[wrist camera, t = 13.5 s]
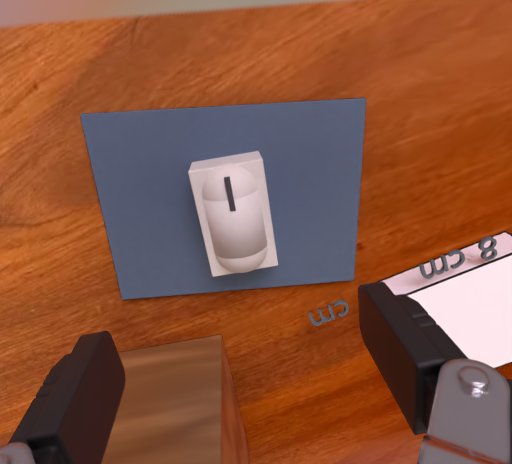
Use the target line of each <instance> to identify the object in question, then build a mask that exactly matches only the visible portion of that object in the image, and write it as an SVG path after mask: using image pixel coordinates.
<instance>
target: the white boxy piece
mask: <svg viewBox="0 0 512 464" xmlns="http://www.w3.org/2000/svg"><path fill="white" fill-rule="evenodd" d="M188 174H189V178H190V183H191V187H192V191H193V195H194V200H195V204H196V208H197V213H198V217H199V221H200V225H201V230H202V234H203V238H204V243H205V247H206V251H207V255H208V260H209V264H210V268H211V272H212V276H213V277H215V276H221V275H227V274H232V273H245V272H249V271H252V270H255V269H261V268H266V267H272V266H277V265H278V260H277V253H276V246H275V240H274V233H273V226H272V219H271V212H270V206H269V199H268V192H267V185H266V178H265V172H264V165H263V159H262V157H261V155H260V153H259V151H254V152H249V153H243V154H237V155H231V156H225V157H219V158H214V159H208V160H202V161H196V162H192V163H191V166H190V169H189V171H188Z"/></svg>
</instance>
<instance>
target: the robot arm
mask: <svg viewBox="0 0 512 464" xmlns="http://www.w3.org/2000/svg"><path fill="white" fill-rule="evenodd" d="M358 299H359V321H360V330H361V334H362V338H363V340H364V343H365V345H366V347H367V349H368V350H369V352H370V354H371V356H372V358H373V360H374V361H375V363H376V365H377V367H378V369H379V371H380V372H381V374H382V376H383V378H384V380H385V382H386V383H387V385H388V387H389V389H390V391H391V393H392V394H393V396H394V398H395V400H396V402H397V404H398V405H399V407H400V409H401V411H402V413H403V415H404V416H405V418H406V420H407V422H408V424H409V425H410V427H411V429H412V431H413V433H414V435H418V434H423V433H427V435H426V436H424V437H423V440H422V444H421V449H420V453H419V458H418V463H417V464H512V380H511V379H506V378H504V376H503V375H502V374H501V373H500V372H498V371H497V370H496V369H494V368H493V367H491V366H489V365H487V364H485V363H483V362H480V361H476V360H472V359H469V358H468V357H467V356H466V355H465V354H464V353H463V352H462V351H461V349H460V348H459V347H458V346H457V345H456V344H455V343H454V342H453V340H452V339H451V338H450V337H449V336H448V335H447V334H446V333H445V331H444V330H443V329H442V328H441V327H440V326H439V325H437V324H436V321H435V320H434V319H433V318H432V317H431V316H430V315H428V312H427V311H426V310H425V309H424V308H423V307H422V306H421V304H420V303H419V302H417V301H416V300H414V299H412V298H410V297H408V296H407V295H405V294H399V295H394V293H393V292H392V291H391V290H390V288H389V287H388V286H387V285H386V283H385V282H383V281H381V282H376V283H370V284H365V285H360V286H359V288H358ZM125 380H126V378H125V370H124V367H123V364H122V361H121V359H120V356H119V354H118V351H117V349H116V346H115V344H114V341H113V339H112V336H111V334H110V333H109V332H108V331H103V332H98V333H92V334H87V335H82V336H81V337H80V338H79V340H78V342H77V344H76V345H75V347H74V349H73V351H72V353H71V354H68V355H65V356H64V357H63V358H62V359H61V360H60V361H59V362H58V363H57V364H56V365H55V366H54V367H53V368H52V369H51V370H50V372H49V374H48V376H47V377H46V379H45V381H44V383H43V386H41V388H40V389H39V391H38V393H37V395H36V398H35V399H34V400H33V401H32V403H31V405H30V407H29V408H28V410H27V412H26V413H25V415H24V417H23V419H22V420H21V422H20V424H19V426H18V427H17V429H16V431H15V432H14V434H13V436H12V438H11V439H10V441H9V443H8V444H6V445H3V446H1V447H0V464H101V463H102V460H103V457H104V453H105V450H106V447H107V444H108V440H109V437H110V434H111V431H112V427H113V424H114V421H115V418H116V414H117V411H118V408H119V405H120V401H121V398H122V395H123V392H124V388H125Z"/></svg>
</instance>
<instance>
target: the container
mask: <svg viewBox="0 0 512 464" xmlns="http://www.w3.org/2000/svg"><path fill="white" fill-rule="evenodd" d="M381 281H383V282H385V283H386V285H387V286H388V287H389V288H390V290H391V291H392V292H393V293H394V295H399V294H405V295H407V296H408V297H410V298H412V299H414V300H416V301H417V302H419V303H420V304H421V306H422V307H423V308H424V309H425V310H426V311H427V312H428V315H430V316H431V317H432V318H433V319H434V320H435V321H436V324H437V325H439V326H440V327H441V328H442V329H443V330H444V331H445V333H446V334H447V335H448V336H449V337H450V338H451V339H452V340H453V342H454V343H455V344H456V345H457V346H458V347H459V348H460V349H461V351H462V352H463V353H464V354H465V355H466V356H467V357H468V358H469V359H472V360H476V361H480V362H483V363H485V364H487V365H489V366H491V367H493V368H494V369H496V368H499V367H501V366H504V365H507V364H510V363H512V234H510V233H508V232H506V231H505V232H502V233H500V234H497V235H495V236H492V237H485V238H483V239H482V240H481V241H479V242H477V243H474V244H472V245H469V246H467V247H464V248H462V249H459V250H453V251H450V252H449V253H447V255H444V254H443V255H441V257H439V258H437V259H434V260H433V259H431V260H430V261H429V262H426V263H424V264H422V263H420V264H419V266H416V267H414V268H411V269H409V270H406V271H404V272H401V273H399V274H396V275H394V276H391V277H389V278H386V279H384V280H381ZM381 281H378V282H381ZM333 304H334V306H335V307H336V306H337V305H340V304H342V305H344V306H345V309H344V311H342V312H340V313H338V317H341V316H344V315H346V314H347V313H348V311H349V307H348V305H347V303H346V302H345V301H343V300H339V301H336V302H334V303H333ZM327 307H328V309H329V312H330V316H329V317H328V318H325V317H324V316H323V314H322V312H321V309H320V308H319V309H317V310H318V312H319V315H320V317H321V319H320V320H319V321H315V320H314V319H313V317H312V314H311V312H309V313H308V315H309V317H310V320H311V322H312V324H313V325H315V326H319V325H321V324H322V322H323V321H324V322H329V321H330V320H331V319H332V318H333V319H336V318H335V316H334V314H333V311H332V309H331V306H330V304H329V305H327Z"/></svg>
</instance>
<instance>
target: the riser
mask: <svg viewBox="0 0 512 464" xmlns="http://www.w3.org/2000/svg"><path fill="white" fill-rule="evenodd" d="M118 354H119V356H120V359H121V361H122V364H123V367H124V370H125V378H126V380H125V388H124V392H123V395H122V398H121V401H120V405H119V408H118V411H117V414H116V418H115V421H114V424H113V427H112V431H111V434H110V437H109V440H108V444H107V447H106V450H105V453H104V457H103V460H102V463H101V464H249V455H248V442H247V438H246V434H245V430H244V426H243V421H242V417H241V413H240V409H239V405H238V400H237V396H236V392H235V388H234V384H233V380H232V375H231V371H230V367H229V363H228V359H227V354H226V350H225V346H224V342H223V338H222V335H215V336H210V337H204V338H198V339H193V340H187V341H181V342H176V343H170V344H165V345H159V346H153V347H148V348H142V349H137V350H131V351H125V352H120V353H118Z"/></svg>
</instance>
